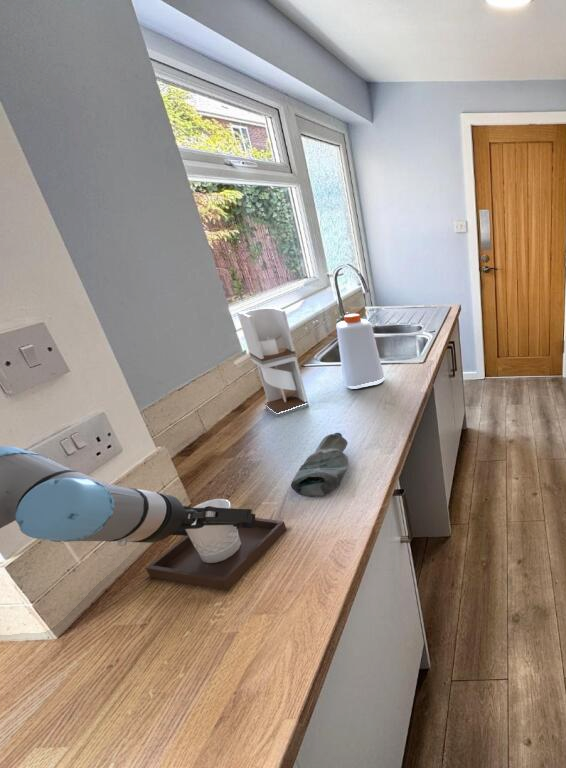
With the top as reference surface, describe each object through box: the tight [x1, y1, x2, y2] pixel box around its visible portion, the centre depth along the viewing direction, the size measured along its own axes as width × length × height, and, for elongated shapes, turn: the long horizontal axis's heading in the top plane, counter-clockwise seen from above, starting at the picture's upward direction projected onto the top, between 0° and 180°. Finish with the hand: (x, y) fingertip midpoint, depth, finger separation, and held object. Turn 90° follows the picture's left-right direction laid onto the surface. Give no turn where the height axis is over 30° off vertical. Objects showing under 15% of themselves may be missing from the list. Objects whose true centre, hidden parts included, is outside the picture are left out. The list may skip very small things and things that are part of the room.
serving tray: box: [145, 517, 287, 591], centre depth 82 cm, size 18×16×2 cm
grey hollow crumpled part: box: [290, 432, 349, 498], centre depth 107 cm, size 13×7×25 cm
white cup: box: [185, 498, 241, 563], centre depth 80 cm, size 8×8×10 cm
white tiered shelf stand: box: [237, 306, 309, 418], centre depth 139 cm, size 11×11×35 cm
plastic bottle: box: [335, 313, 385, 386], centre depth 160 cm, size 15×15×28 cm
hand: (222, 524), depth 83 cm, fingers open, 11 cm apart
